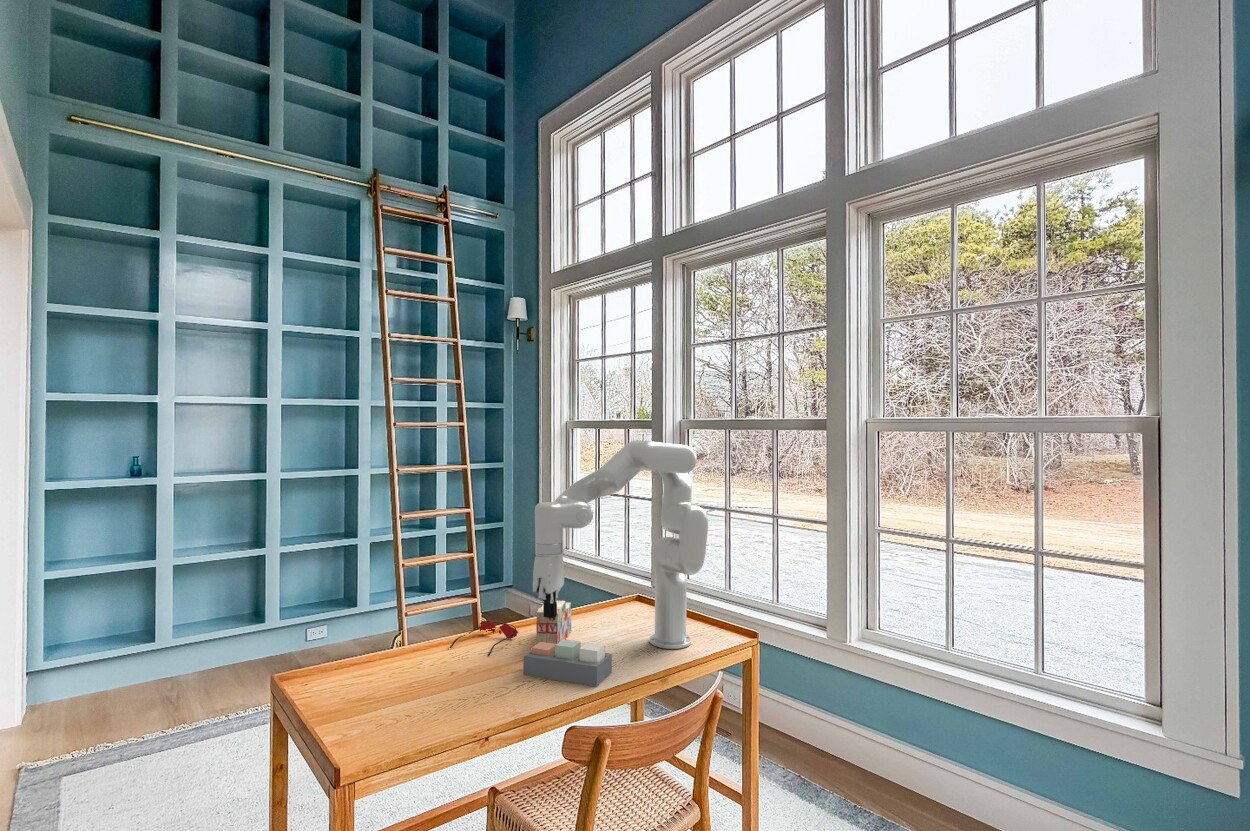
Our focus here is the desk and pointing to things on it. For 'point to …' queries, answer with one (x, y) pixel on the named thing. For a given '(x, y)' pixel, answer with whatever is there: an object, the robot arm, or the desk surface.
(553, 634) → the stack of blocks
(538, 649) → the terracotta button
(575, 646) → the sage button
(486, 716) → the desk surface
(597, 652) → the cream button
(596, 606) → the desk surface
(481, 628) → the glasses
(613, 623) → the desk surface
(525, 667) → the frame
